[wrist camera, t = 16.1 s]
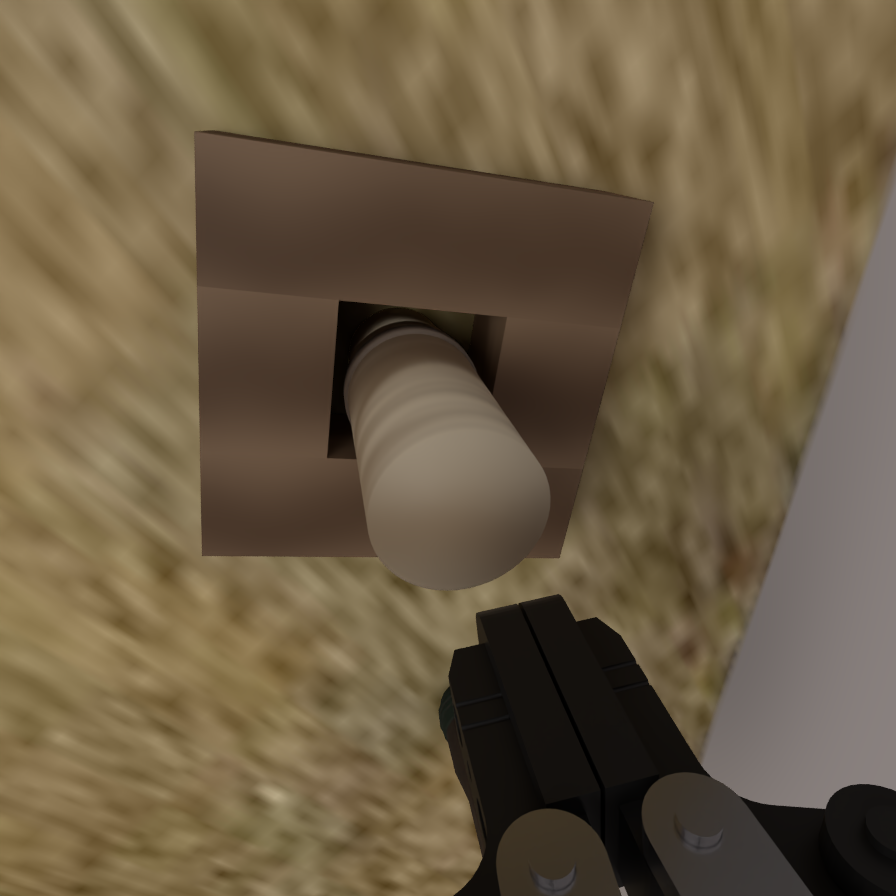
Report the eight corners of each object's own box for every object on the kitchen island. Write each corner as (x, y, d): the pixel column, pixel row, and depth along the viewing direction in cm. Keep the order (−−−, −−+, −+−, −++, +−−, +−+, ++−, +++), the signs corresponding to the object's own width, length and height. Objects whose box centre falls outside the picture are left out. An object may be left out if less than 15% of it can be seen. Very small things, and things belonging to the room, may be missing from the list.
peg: (343, 291, 24) (373, 420, 14) (461, 303, 25) (573, 431, 15) (334, 404, 26) (354, 594, 15) (444, 411, 27) (532, 592, 17)
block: (213, 130, 21) (194, 131, 17) (603, 191, 24) (654, 202, 21) (215, 499, 27) (202, 555, 23) (530, 507, 30) (559, 558, 27)
